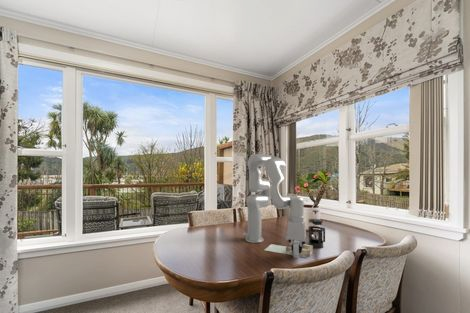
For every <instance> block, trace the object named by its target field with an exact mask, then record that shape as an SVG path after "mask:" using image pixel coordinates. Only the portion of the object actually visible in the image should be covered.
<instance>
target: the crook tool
mask: <svg viewBox="0 0 470 313" xmlns="http://www.w3.org/2000/svg"><path fill="white" fill-rule="evenodd" d="M299 245H300V243H299V241H296V240H295V241H294V243H293V255H292V256H293V257H292V258H293V259H300V254H299Z"/></svg>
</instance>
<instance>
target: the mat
mask: <svg viewBox="0 0 470 313" xmlns="http://www.w3.org/2000/svg"><path fill="white" fill-rule="evenodd" d="M286 247H287V246H286V245H285V246H284V245H278V244H271V243H270V244H269V245H268V246H267V247H266V248H265V249H264V251H266V252H268V251H269V252H273V253H279V254H282V255H283V254H284V255H289V256H290V255H291V256H293V254H288V253H286ZM300 257H301V258H306V259H307V258H308V259H310V258H311V256H310V257H305V256H300ZM300 257H299V258H300Z"/></svg>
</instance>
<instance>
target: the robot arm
mask: <svg viewBox="0 0 470 313" xmlns="http://www.w3.org/2000/svg"><path fill="white" fill-rule="evenodd" d="M247 160H248V161H247V167H248V189H249V191H250V192H251V193H254V194H250V195H248V196H247V197H246V207H247V232H242V237H245V241H246V242H247V243H253V244H259V243H263V242H264V240H265V239H264V238H263V236H262V221H263V220H262V217H263V216H262V212H261V210H260V209H261V208H267V207H268V206H269V205H270V203H271V202H272V205H273V206H274V208H276V209H277V210H285V209H289V215H287V217H286V218H287V219H288V222H287V229H286V230H287V232H286V235H285V237H284V239H285V240H286V241H288V242H289V243H290V244H291V250H292V252H293V243H294V242H296V241H299V243H300V245H299V254H300V253H301V252H302V245H304V244H308V242H309V237H308V236H307V228H306V223H305V221H304V219H305V217H304V215H305V214H304V209H305V207H304V198H303V197H300V196H294V195H289V194H288V195H281V194H280V192H279V185H280V184H282V183H283V182H284V181H285V177H284V175H283V171H284V170H285V169H286V163H285V161H284V160H283V158H280V157H277V156H274V155H272V154H263V153H256V154H252V155H251V156H249V158H248V159H247ZM260 167H262V168H263V167H264V168H265V171H266V173H267V175H268V178H269V180H270V181H269V180H268V179H266V178H262V171H261V169H260Z"/></svg>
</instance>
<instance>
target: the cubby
mask: <svg viewBox="0 0 470 313" xmlns="http://www.w3.org/2000/svg"><path fill="white" fill-rule="evenodd" d="M313 252H314V248H313V246H312V245H308V244H307V243H305V244H304V245H302V252H301V253H300V256H305V257H304V258H306V257H310V258H311V256H312V254H313ZM286 253H288V254H287V255H289V254H293V252H292V250H291V247H289V246H286Z"/></svg>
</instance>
